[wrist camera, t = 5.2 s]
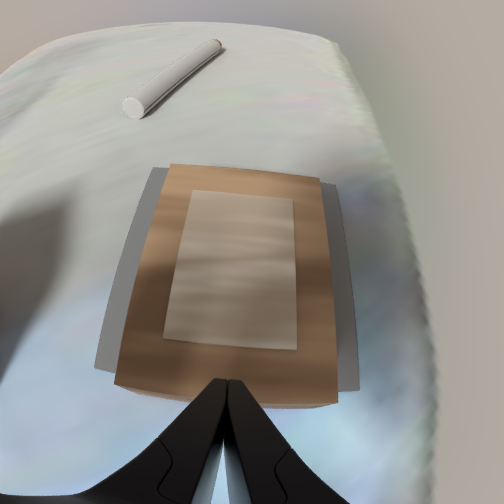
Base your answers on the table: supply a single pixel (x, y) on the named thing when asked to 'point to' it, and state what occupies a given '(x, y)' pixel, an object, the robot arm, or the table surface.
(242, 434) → the robot arm
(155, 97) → the tube
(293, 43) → the table surface
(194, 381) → the brown cardboard box
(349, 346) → the mat
